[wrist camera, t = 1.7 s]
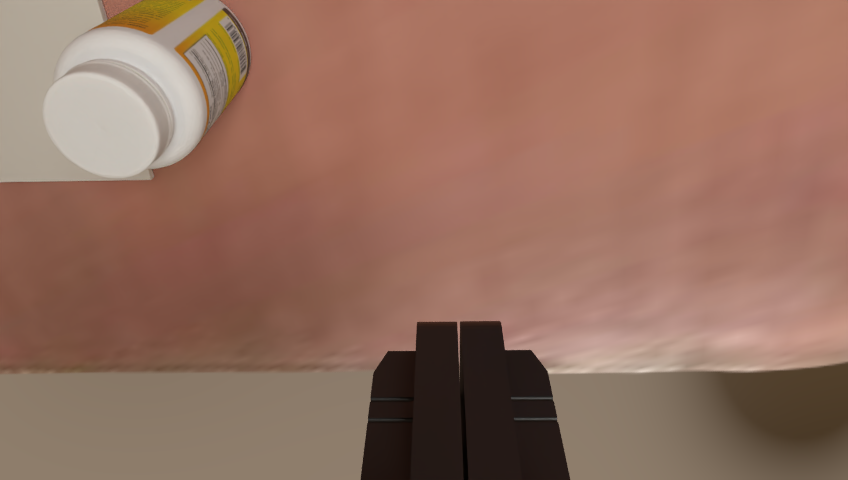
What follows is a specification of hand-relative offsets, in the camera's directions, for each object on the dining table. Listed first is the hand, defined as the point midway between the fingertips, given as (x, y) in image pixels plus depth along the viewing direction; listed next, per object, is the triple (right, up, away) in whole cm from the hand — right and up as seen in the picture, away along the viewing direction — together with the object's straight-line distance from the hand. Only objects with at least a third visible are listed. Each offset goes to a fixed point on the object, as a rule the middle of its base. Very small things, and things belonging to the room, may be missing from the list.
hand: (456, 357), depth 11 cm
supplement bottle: (-12, +12, +19) cm, 25 cm away
